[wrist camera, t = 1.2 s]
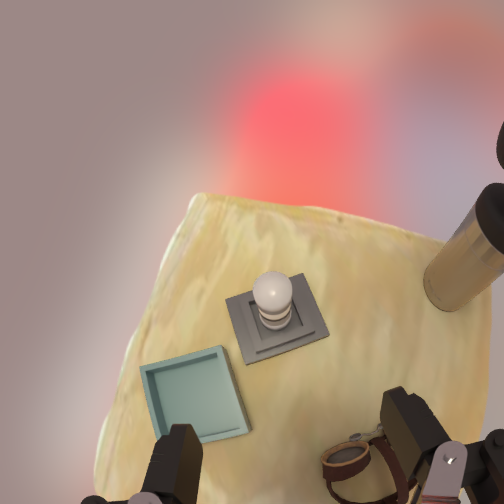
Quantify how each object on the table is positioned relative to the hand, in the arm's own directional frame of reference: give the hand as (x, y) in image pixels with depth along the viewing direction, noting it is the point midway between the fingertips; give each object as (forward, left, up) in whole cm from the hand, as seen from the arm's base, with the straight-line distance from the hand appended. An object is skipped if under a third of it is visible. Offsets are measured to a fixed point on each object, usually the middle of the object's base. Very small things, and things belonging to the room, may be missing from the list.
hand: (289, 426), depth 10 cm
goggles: (-9, +14, -27) cm, 32 cm away
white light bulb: (-3, -13, -26) cm, 29 cm away
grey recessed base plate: (-3, -13, -27) cm, 30 cm away
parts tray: (+11, -5, -27) cm, 29 cm away
